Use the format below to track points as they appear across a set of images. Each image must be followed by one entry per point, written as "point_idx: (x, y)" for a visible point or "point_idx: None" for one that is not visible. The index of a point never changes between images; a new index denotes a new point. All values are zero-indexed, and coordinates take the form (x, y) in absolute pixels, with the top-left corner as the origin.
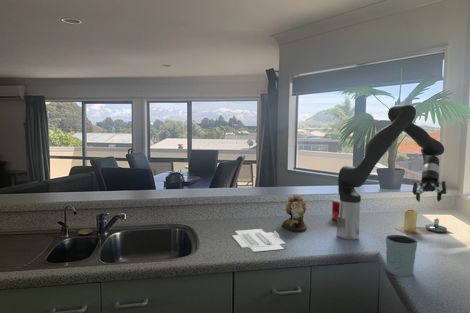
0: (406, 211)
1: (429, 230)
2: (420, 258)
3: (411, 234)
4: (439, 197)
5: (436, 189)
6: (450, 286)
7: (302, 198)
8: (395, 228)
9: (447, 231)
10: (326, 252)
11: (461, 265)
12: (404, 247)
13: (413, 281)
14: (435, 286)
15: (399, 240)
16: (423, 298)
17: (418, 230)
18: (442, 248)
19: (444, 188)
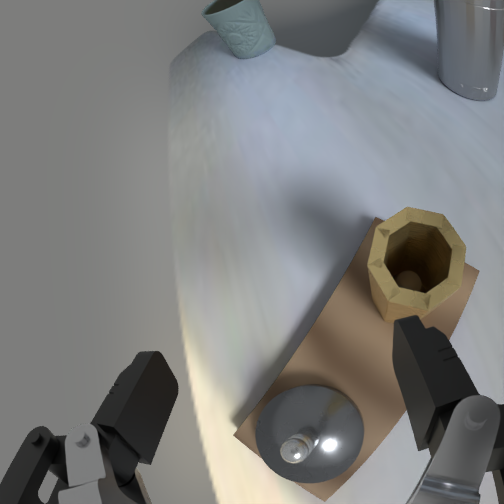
0: (427, 212)
1: (330, 387)
2: (250, 106)
3: (366, 241)
4: (129, 375)
5: (98, 481)
6: (184, 77)
7: None
8: (466, 267)
9: None
10: (385, 10)
11: (174, 153)
12: (219, 4)
13: (227, 47)
14: (200, 62)
15: (242, 11)
16: (206, 40)
17: (376, 346)
18: (230, 226)
19: (20, 459)
